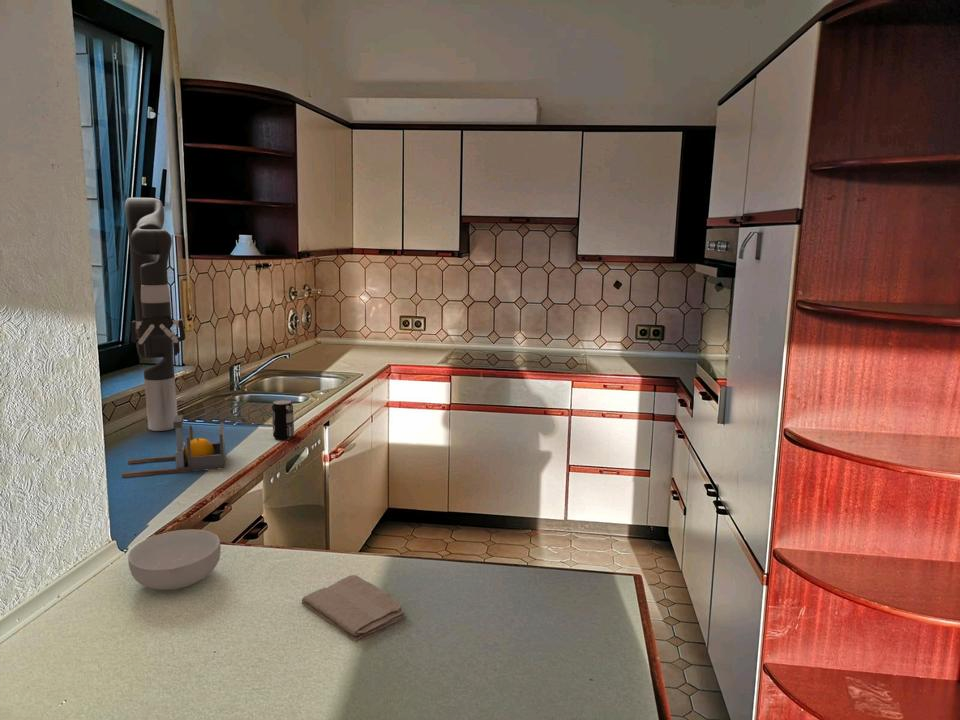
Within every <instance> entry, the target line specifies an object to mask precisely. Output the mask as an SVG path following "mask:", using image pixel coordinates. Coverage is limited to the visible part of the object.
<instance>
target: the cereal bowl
mask: <svg viewBox="0 0 960 720" xmlns="http://www.w3.org/2000/svg"><path fill="white" fill-rule="evenodd" d="M221 547H222V546H221V540H220V538H219V536H218V535H217V534H216V533H213V532H212V531H208V530H204V529H196V528H195V529H179V530H173V531H167V532H163V533H159V534H156V535H152V536H150V537H148V538H146V539H144V540H142V541H141V542H139V543H137V544H136V545H135V546H134V547H132V549H130V551H129V553H128V557H127V560H128V566H129V570H130V574H131V576H132V578H133V579H134V580H135V581H136V582H137V583H139V584H140V585H142V586H144V587H145V588H146V587H147V588H148V589H153V590H161V591H162V590H163V591H164V590H165V591H175V590H176V591H177V590H182V589H185V588H188V587H190V586H192V585H194V584H195V583H197V582H199V581H201V580H203V579H204V578H206V577H207V576H208V575H210V574H211V573H212V572H213V570H215V568H216V567H217V565H218V563H219V562H220V559H221V553H222V552H221V549H222V548H221Z"/></svg>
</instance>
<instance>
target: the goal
mask: <svg viewBox="0 0 960 720" xmlns="http://www.w3.org/2000/svg"><path fill="white" fill-rule="evenodd" d="M219 424H220V426H219V442H210V443H211V444H212V446H213V448H214V455H206V456H194V457H191V446H190V441H192V440H193V439H194V430H193V428H194V427H193V424H190V425H189V426H188V428H189V435H188V436H186V446H187V451H188V461H187V463H188V467H189V472H194V471H193V470H200V471H206V470H205V469H211V470H219V469H218V468H222V469H225V467H226V442H225V427H224V426H225V424H224V422H221V423H219Z"/></svg>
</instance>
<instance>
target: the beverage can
mask: <svg viewBox="0 0 960 720" xmlns="http://www.w3.org/2000/svg"><path fill="white" fill-rule="evenodd" d="M271 417H272V436H273V437H274V439H276V440H278V439H279V441H285V440H290V439H292V438H293V437H294V435H295V426H294V425H295V423H294V421H295V420H294V417H295V416H294V404H293V403H292V400H291V399H283V398H282V399H277V400H276V399H275V400H274V401H273V402H272V405H271Z"/></svg>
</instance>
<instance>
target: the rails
mask: <svg viewBox="0 0 960 720" xmlns="http://www.w3.org/2000/svg"><path fill="white" fill-rule="evenodd" d="M163 460H170V461H176V457H175V455H171V456H170V455H169V456H158V457H147V458H146V457H145V458H136V459H135V458H134V459H127V464H128V463H129V464H128V465H132V464H131V463H135V464H143V463H142V462H146V463H154V462H153V461H158V462H164V461H163ZM187 471H189V466H187V467H185V468H176V467H175V468H164V469H153V470H151V469H150V470H142V471H130V472H122V473H121V478H132V477H133V478H134V477H141V476H143V477H144V476H152V475H154V476H155V475H166V473H167V474H176V473H177V472H178V473H187ZM189 472H190V471H189Z"/></svg>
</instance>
